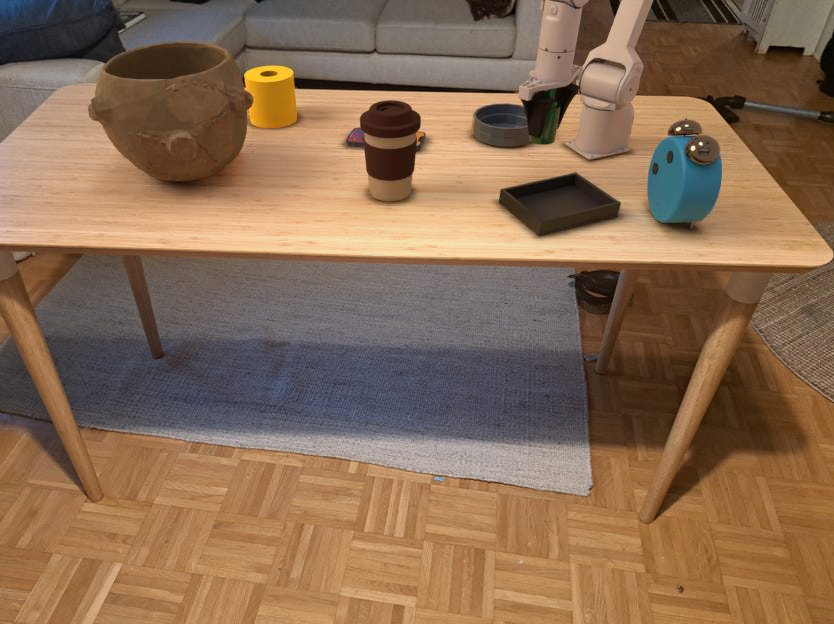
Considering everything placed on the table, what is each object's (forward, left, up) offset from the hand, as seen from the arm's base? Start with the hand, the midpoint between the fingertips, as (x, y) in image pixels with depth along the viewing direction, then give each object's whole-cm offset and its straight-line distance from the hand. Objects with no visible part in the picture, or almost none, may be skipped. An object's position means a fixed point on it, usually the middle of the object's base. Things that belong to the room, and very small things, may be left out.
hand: (543, 131), depth 116 cm
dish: (-5, -20, -9) cm, 22 cm away
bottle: (0, 0, -1) cm, 1 cm away
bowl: (+57, -31, -9) cm, 65 cm away
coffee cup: (+26, -7, -9) cm, 28 cm away
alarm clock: (-12, +20, -9) cm, 26 cm away
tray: (+3, +10, -9) cm, 14 cm away
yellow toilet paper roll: (+35, -48, -9) cm, 60 cm away
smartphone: (+18, -27, -9) cm, 33 cm away
